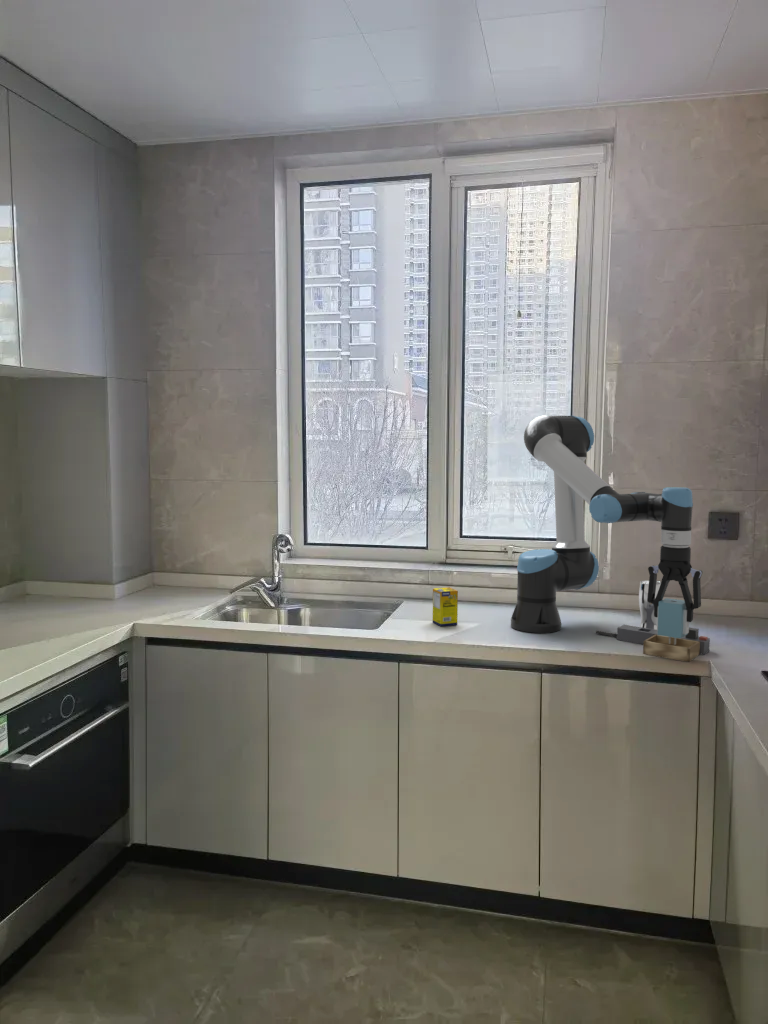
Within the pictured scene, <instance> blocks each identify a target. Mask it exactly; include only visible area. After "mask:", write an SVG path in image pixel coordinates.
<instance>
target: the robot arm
mask: <svg viewBox="0 0 768 1024" xmlns="http://www.w3.org/2000/svg"><path fill="white" fill-rule="evenodd" d="M523 441H524V442H523V443H524V445H525V448H526V449H527V451H528V453H529V454H530V455H531V456H532V457H533V458H535V460H537V461H538V462H541V463H545V465H547V466H548V467H549V468H550V469H551V470H552V471H553V478H554V479H553V480H554V483H553V484H554V485H553V487H554V507H555V508H554V510H555V535H556V536H555V537H556V542H555V543H554V544H553V545H552V546H551V549H549V548H548V549H547V548H542V549H541V548H540V549H531V550H526V551H524V552H522V553H520V554H519V556H518V559H517V560H518V561H517V567H516V568H517V569H516V570H517V584H516V585H517V586H516V587H517V590H516V595H517V596H516V603H515V606H514V609H513V611H512V614H511V618H510V627H511V628H512V629H514V630H517V631H520V632H525V633H535V634H537V633H538V634H547V633H548V634H550V633H554V632H558V631H560V630H561V629H562V619H561V617H560V612H559V609H558V605H557V592H562V591H563V592H564V591H570V590H576V591H577V590H581V589H583V588H585V589H586V588H588V587H590V586H592V584H593V583H594V582H595V581H596V580H597V578H598V575H599V571H600V570H599V569H600V566H599V565H600V564H599V561H598V558H596V555H595V553H594V552H592V551H591V546H590V545H589V543H588V542H587V541H586V540H585V537H586V536H585V518H584V517H585V515H584V514H585V513H584V511H585V510H584V501H585V502H586V503H587V504H588V505H589V507H588V510H589V513H590V514H591V518H592V520H594V521H595V522H598V523H601V524H602V523H603V524H613V523H625V522H643V521H651V522H659V523H661V524H660V525H661V526H660V529H661V530H660V544H662V545H661V546H660V550H659V551H660V552H659V553H660V557H659V559H660V561H659V563H658V564H656V565H651V566H648V567H647V571H648V573H649V577H648V578H649V579H648V580H649V587H648V597H647V601H648V602H649V603H652V604H653V605H654V616H655V617H657V630H658V607H659V601H661V600H663V599H664V596H665V595H666V591H667V589H668V586H669V583H670V581H675V582H678V585H679V586H680V590H681V593H682V597H683V600H684V601H685V605H686V609H684V611H683V634H685V635H686V634H687V633H689V627H690V623H691V622H693V620H694V610H696V609H699V608H701V607H702V593H701V578H702V575H703V570H701V569H699V570H698V569H695V568H693V566H692V564H691V554H692V548H691V547H690V546H691V545H692V517H693V506H694V503H693V491H692V489H691V488H689V487H679V486H677V487H675V486H674V487H673V486H669V487H663V489H662V492H661V493H652V492H646V491H635V492H631V493H620V492H617V491H616V490H614V488H612V487H611V485H610V484H608V483H607V482H606V481H605V480H604V479H603V478H602V477H600V475H598V474H597V473H596V472H595V471H594V470H593V469H592V468H590V467H589V466H588V465H587V464H586V463H585V461H586V460H587V458H588V457H587V453H588V452H589V451H591V449H592V448H593V447H592V446H594V442H595V432H594V429H593V427H592V425H591V424H590V422H589V421H588V420H587V419H585V418H584V417H581V416H576V415H548V414H547V415H539V416H536V417H535V418H534V419H532V420H531V421H530V422H528V424H527V426H526V427H525V430H524V432H523ZM659 571H660V572H661V574H662V578H661V581H660V582H661V585H660V588H659V590H658V593H657V596H656V598H655V592H656V582H657V581H658V579H657V578H658V574H659ZM689 574H691V577H692V595H691V591H690V587H689V584H688V578H687V577H688V575H689ZM692 597H693V598H692Z"/></svg>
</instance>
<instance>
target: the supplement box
mask: <svg viewBox="0 0 768 1024" xmlns="http://www.w3.org/2000/svg"><path fill="white" fill-rule="evenodd" d="M458 591H459V590H457V589H454V588H452V587H434V588H432V623H433V624H435V625H437V626H439V627H450V626H458V615H459V613H458V610H459V609H458V608H459V607H458V605H459V604H458V599H459V594H458V593H459V592H458Z"/></svg>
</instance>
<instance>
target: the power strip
mask: <svg viewBox="0 0 768 1024" xmlns="http://www.w3.org/2000/svg"><path fill="white" fill-rule="evenodd" d="M699 631H700V629H699V628H695V627H690V626H689V633H688V634H687V635H685V636H684V637H682V638H680V639H686V640H692V641H699V642H700V654H699V655H704V656H705V654H707V653H709V651H710V646H711V645H710V644H711V643H710V641H711V639H710V637H708V636H705V635H704V636H703V635H700V636H699ZM616 632H617V633H613V632H609V631H602V630H595V634H596V635H602V636H606V637H607V636H608V637H613V638H616V641H622V642H628V643H632V644H633V643H634V644H639V645H643V643H644V641H645V640H646V639H648V638H650V637H652V636H653V635H658V630H655V629H648V628H642V627H640V626H634V625H629V624H623V625H621V626H618V627H617V630H616Z"/></svg>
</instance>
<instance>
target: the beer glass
mask: <svg viewBox="0 0 768 1024" xmlns="http://www.w3.org/2000/svg"><path fill="white" fill-rule="evenodd" d="M660 585H661V581H660V580H659V581H658V580H657V582H656V592H655V598H656V596H657V593H658V590H659V588H660ZM648 587H649V579H647V580H646V579H645V580H640V581H639V588H638V606H639V611H640V612H639V613H640V624H639V627H642V628H648V629H655V630H657V617H655V616H654V605H653V604H652V603H649V602H648V601H647V597H648Z"/></svg>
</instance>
